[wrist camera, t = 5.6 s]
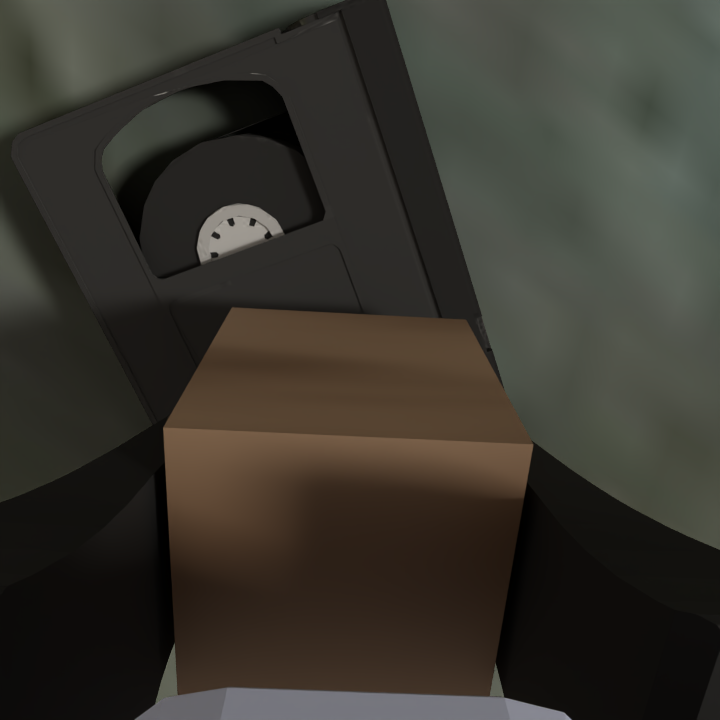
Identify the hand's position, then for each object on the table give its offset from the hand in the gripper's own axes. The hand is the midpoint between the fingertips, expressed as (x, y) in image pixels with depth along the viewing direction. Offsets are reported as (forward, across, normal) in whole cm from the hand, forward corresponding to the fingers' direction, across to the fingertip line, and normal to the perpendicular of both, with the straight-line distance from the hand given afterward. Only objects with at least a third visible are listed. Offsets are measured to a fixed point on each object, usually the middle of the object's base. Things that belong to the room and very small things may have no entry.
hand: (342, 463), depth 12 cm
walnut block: (+2, 0, 0) cm, 2 cm away
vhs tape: (+5, +1, 0) cm, 5 cm away
